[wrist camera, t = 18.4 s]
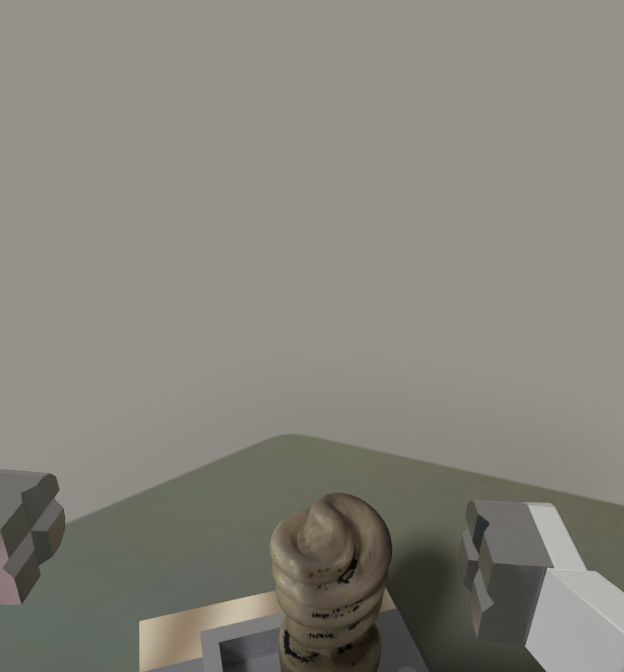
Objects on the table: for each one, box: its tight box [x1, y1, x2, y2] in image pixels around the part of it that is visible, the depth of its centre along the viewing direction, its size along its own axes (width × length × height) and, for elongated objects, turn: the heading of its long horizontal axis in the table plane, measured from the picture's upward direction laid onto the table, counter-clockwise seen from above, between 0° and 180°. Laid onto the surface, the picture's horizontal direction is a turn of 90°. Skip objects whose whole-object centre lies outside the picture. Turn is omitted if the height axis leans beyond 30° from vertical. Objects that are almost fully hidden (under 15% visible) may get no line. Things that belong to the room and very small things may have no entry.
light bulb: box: [270, 493, 392, 672], centre depth 27 cm, size 6×6×15 cm
